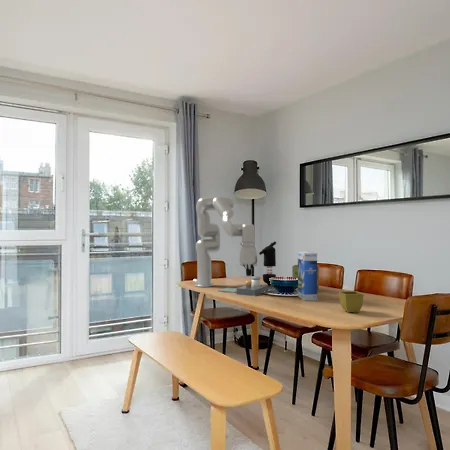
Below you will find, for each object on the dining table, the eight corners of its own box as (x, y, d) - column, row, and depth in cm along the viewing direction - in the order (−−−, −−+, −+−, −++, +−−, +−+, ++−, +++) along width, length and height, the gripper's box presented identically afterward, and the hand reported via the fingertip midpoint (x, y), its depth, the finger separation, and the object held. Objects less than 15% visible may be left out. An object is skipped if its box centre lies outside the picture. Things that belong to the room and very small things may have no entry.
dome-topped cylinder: (249, 291, 236) (249, 277, 236) (253, 290, 240) (253, 276, 240) (257, 292, 233) (257, 277, 233) (262, 291, 237) (261, 276, 238)
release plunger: (244, 290, 228) (244, 281, 228) (247, 289, 231) (247, 280, 231) (249, 291, 226) (249, 281, 226) (252, 290, 229) (252, 281, 229)
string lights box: (297, 296, 220) (297, 251, 220) (310, 296, 220) (310, 251, 221) (304, 300, 207) (304, 252, 207) (318, 300, 207) (317, 252, 207)
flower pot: (338, 310, 184) (338, 291, 184) (356, 309, 184) (356, 290, 184) (345, 314, 175) (345, 294, 175) (364, 313, 176) (364, 294, 176)
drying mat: (218, 291, 239) (218, 290, 239) (228, 288, 249) (228, 287, 249) (234, 292, 232) (234, 291, 232) (244, 290, 243) (244, 289, 243)
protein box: (317, 292, 233) (317, 266, 233) (292, 291, 238) (291, 266, 238) (319, 289, 242) (319, 265, 243) (294, 288, 247) (294, 264, 247)
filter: (272, 284, 265) (271, 241, 265) (280, 286, 257) (279, 241, 257) (255, 285, 259) (255, 241, 259) (263, 287, 251) (262, 241, 251)
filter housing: (236, 294, 228) (236, 288, 228) (251, 289, 244) (251, 284, 244) (254, 295, 222) (254, 289, 222) (268, 291, 238) (268, 285, 238)
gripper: (234, 245, 229) (234, 275, 229) (256, 245, 221) (257, 277, 221) (240, 244, 236) (241, 274, 235) (262, 244, 228) (263, 275, 228)
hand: (248, 275), depth 228 cm, fingers closed
